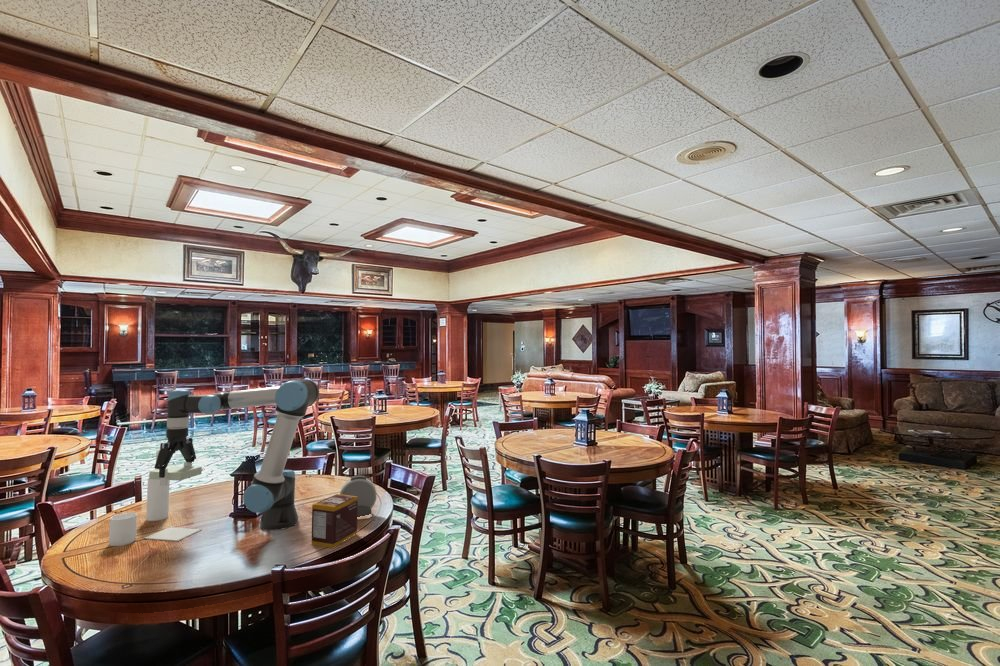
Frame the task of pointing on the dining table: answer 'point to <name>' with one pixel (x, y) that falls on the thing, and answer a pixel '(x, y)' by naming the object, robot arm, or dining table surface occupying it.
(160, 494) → the bottle
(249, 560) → the dining table surface
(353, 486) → the alarm clock
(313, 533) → the supplement box
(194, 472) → the board
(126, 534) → the cup
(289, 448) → the robot arm
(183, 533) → the mat
